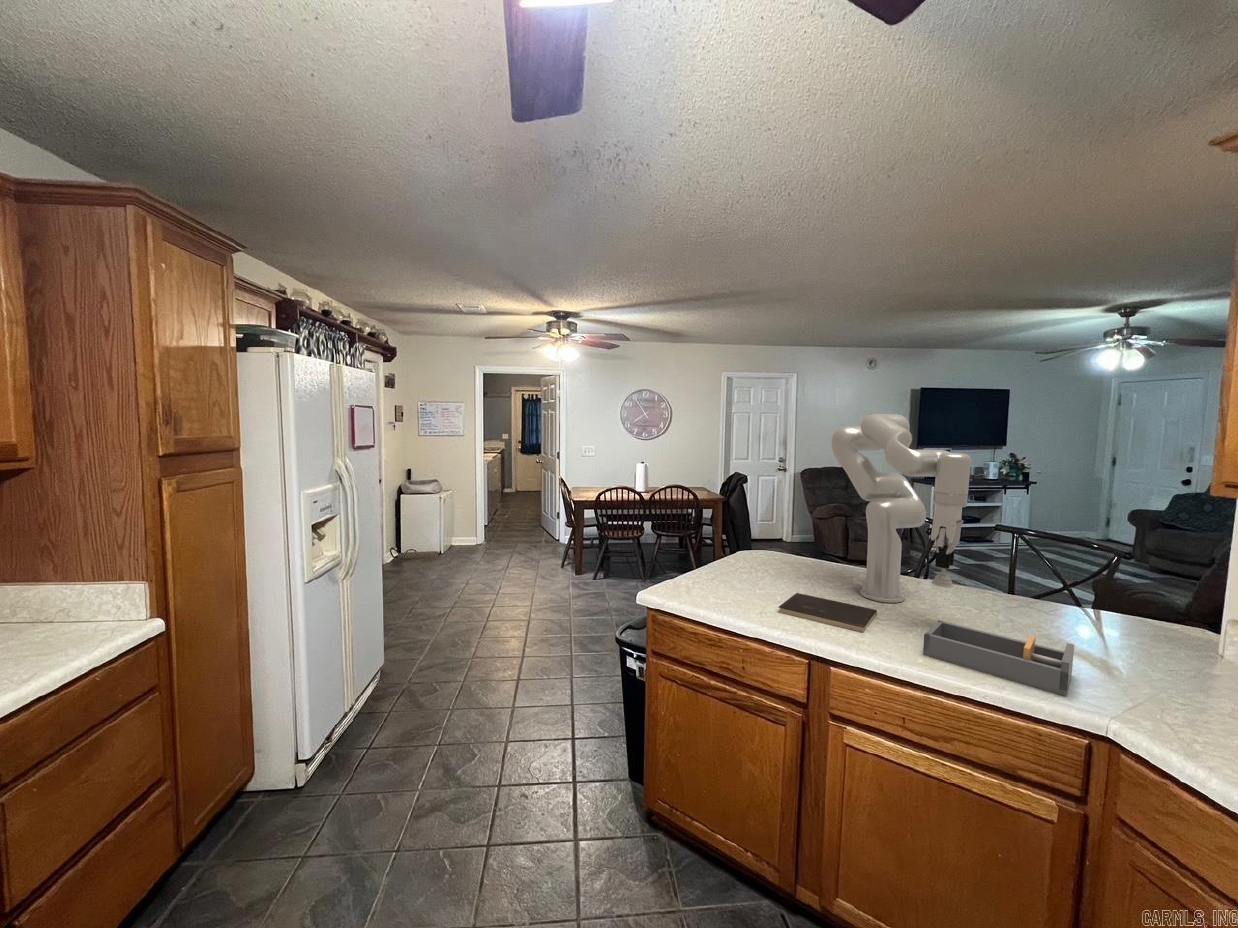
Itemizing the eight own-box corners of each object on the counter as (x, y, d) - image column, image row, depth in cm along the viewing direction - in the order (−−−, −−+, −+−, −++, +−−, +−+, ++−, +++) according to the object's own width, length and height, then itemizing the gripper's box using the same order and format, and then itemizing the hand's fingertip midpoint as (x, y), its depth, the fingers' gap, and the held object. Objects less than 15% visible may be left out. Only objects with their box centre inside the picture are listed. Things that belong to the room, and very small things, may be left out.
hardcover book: (863, 634, 134) (863, 626, 134) (778, 614, 149) (778, 606, 148) (876, 616, 147) (877, 609, 147) (796, 599, 161) (797, 592, 161)
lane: (922, 654, 122) (924, 625, 122) (936, 638, 131) (938, 612, 130) (1066, 696, 104) (1069, 663, 103) (1071, 675, 113) (1074, 644, 112)
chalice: (962, 589, 134) (969, 523, 132) (934, 587, 136) (940, 521, 134) (950, 580, 141) (956, 517, 139) (923, 578, 143) (929, 515, 141)
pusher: (1021, 674, 110) (1023, 647, 110) (1027, 660, 117) (1029, 635, 116) (1059, 684, 106) (1061, 657, 105) (1063, 669, 112) (1065, 643, 112)
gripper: (942, 493, 144) (936, 556, 146) (925, 501, 133) (919, 569, 135) (973, 497, 139) (967, 562, 141) (959, 505, 127) (952, 576, 130)
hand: (944, 565), depth 138 cm, fingers closed on chalice, 3 cm apart
